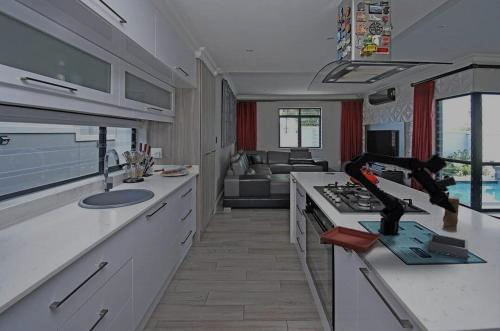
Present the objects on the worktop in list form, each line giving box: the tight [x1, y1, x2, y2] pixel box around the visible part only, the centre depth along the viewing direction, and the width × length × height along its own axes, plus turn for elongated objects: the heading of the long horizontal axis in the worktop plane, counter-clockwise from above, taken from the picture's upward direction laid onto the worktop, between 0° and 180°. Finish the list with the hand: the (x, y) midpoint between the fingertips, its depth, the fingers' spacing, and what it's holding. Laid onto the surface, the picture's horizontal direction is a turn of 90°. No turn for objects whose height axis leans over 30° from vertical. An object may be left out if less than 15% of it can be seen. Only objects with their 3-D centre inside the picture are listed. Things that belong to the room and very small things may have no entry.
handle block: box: [442, 196, 460, 230], centre depth 117 cm, size 4×4×12 cm
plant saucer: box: [319, 225, 382, 253], centre depth 114 cm, size 18×18×3 cm
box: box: [427, 233, 469, 260], centre depth 108 cm, size 12×12×4 cm
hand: (455, 211), depth 117 cm, fingers closed on handle block, 4 cm apart
